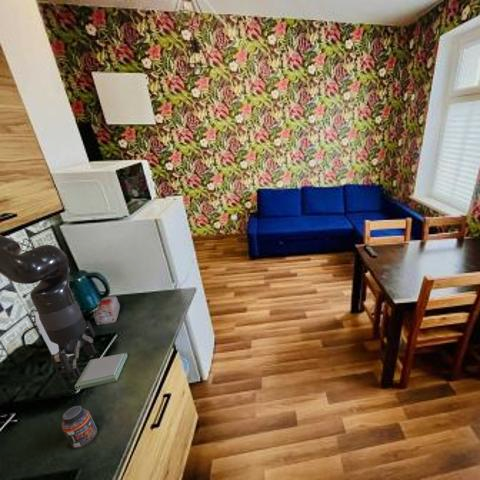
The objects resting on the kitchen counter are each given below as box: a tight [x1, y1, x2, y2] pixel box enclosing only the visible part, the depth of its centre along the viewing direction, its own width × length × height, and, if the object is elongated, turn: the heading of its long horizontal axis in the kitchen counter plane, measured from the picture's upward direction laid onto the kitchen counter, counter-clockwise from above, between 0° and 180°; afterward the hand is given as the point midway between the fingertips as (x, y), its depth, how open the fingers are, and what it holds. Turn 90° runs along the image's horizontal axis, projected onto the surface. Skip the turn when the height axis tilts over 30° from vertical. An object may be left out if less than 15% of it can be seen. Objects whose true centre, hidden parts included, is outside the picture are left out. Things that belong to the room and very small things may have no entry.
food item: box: [93, 295, 121, 326], centre depth 125 cm, size 14×8×10 cm, turn 28°
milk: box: [33, 311, 74, 357], centre depth 102 cm, size 6×6×22 cm
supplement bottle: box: [61, 405, 98, 449], centre depth 76 cm, size 6×6×11 cm
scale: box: [74, 352, 129, 391], centre depth 98 cm, size 12×12×3 cm
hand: (84, 365), depth 76 cm, fingers open, 8 cm apart
